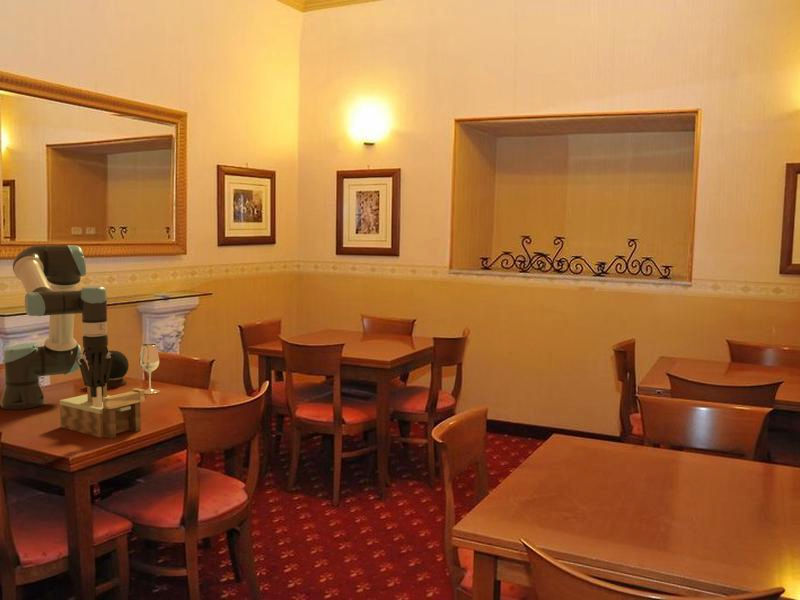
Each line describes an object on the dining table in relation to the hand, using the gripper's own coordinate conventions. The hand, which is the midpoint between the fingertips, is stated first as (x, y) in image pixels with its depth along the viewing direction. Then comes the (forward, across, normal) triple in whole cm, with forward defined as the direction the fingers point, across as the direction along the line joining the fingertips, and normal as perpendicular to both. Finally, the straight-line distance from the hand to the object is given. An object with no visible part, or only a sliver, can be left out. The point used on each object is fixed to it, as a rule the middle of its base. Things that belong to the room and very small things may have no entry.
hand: (97, 406), depth 245 cm
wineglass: (+12, +54, +41) cm, 69 cm away
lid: (+4, +9, +11) cm, 15 cm away
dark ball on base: (+12, +54, +65) cm, 86 cm away
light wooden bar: (+2, +10, 0) cm, 10 cm away
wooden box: (+11, +9, +11) cm, 18 cm away
